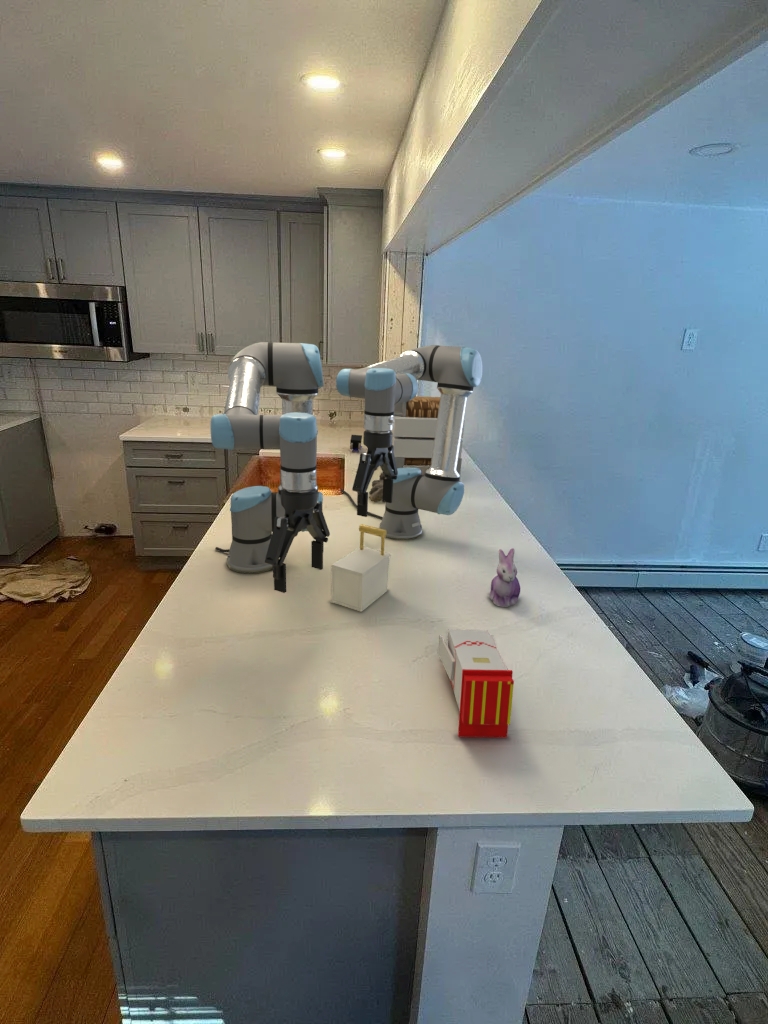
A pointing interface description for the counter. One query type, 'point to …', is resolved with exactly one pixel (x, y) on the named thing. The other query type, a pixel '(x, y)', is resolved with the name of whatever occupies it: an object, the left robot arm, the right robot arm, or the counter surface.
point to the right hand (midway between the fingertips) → (375, 508)
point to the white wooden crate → (417, 432)
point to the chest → (359, 586)
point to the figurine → (505, 581)
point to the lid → (363, 554)
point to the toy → (478, 682)
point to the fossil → (377, 489)
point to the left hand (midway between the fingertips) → (299, 579)
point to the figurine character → (355, 442)
